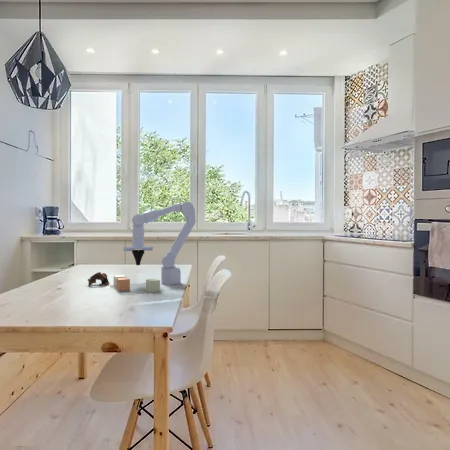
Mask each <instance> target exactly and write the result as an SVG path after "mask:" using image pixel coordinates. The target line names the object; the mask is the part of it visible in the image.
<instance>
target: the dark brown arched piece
mask: <svg viewBox="0 0 450 450" xmlns="http://www.w3.org/2000/svg"><path fill="white" fill-rule="evenodd" d="M87 281H88V286H90V285H93V284H97V281H100V282H101V284H105V286H109V285H110V281H109V278H108V274H106V273H105V272H102V273H101V271H100V272H96V273H94V274H93V275H92V276H90V277H89V278H88V279H87Z"/></svg>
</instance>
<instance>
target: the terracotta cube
mask: <svg viewBox="0 0 450 450" xmlns="http://www.w3.org/2000/svg"><path fill="white" fill-rule="evenodd" d="M130 281H131V279H130V278H129V277H126V278H117V290H118V291H123V290H130V284H131V282H130Z"/></svg>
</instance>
